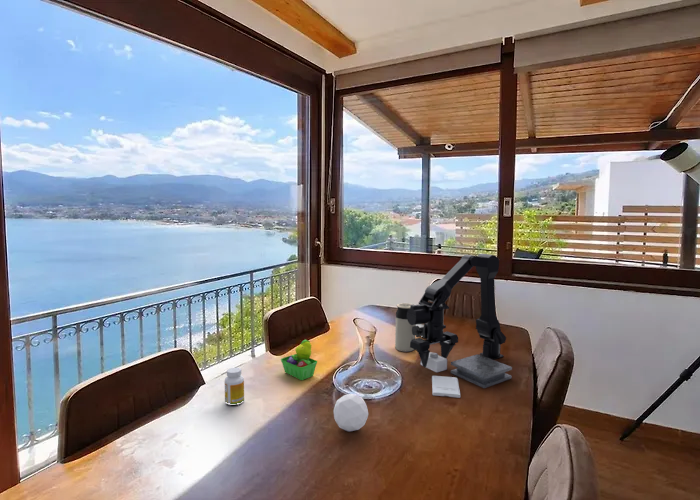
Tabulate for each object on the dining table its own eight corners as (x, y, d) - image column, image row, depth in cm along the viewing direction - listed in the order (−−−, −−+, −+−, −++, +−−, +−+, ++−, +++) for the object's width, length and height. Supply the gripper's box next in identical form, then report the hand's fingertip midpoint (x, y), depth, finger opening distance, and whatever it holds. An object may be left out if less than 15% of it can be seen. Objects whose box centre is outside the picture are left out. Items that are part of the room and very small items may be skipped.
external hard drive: (457, 382, 132) (460, 399, 120) (431, 380, 134) (432, 396, 122) (457, 377, 132) (460, 394, 120) (432, 375, 134) (432, 391, 121)
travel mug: (392, 350, 160) (393, 306, 158) (398, 344, 167) (399, 302, 165) (412, 353, 157) (413, 308, 155) (416, 346, 164) (418, 303, 163)
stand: (477, 364, 146) (477, 354, 145) (511, 378, 134) (511, 366, 134) (450, 373, 138) (450, 361, 138) (484, 388, 126) (484, 376, 126)
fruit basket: (279, 373, 137) (279, 341, 136) (299, 366, 143) (299, 335, 142) (301, 383, 129) (301, 349, 128) (321, 375, 136) (321, 342, 135)
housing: (430, 362, 148) (431, 349, 148) (446, 369, 141) (447, 356, 141) (420, 365, 145) (420, 352, 145) (436, 373, 139) (437, 359, 138)
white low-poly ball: (369, 434, 97) (375, 415, 108) (359, 396, 97) (366, 382, 109) (335, 441, 98) (345, 422, 110) (325, 404, 99) (336, 389, 111)
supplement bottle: (248, 399, 118) (247, 367, 117) (237, 408, 113) (236, 374, 112) (232, 396, 119) (231, 365, 118) (221, 405, 114) (220, 372, 113)
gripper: (437, 313, 153) (436, 352, 155) (400, 320, 143) (399, 362, 145) (459, 319, 144) (458, 361, 146) (421, 327, 134) (420, 372, 136)
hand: (433, 364), depth 143 cm, fingers open, 9 cm apart
